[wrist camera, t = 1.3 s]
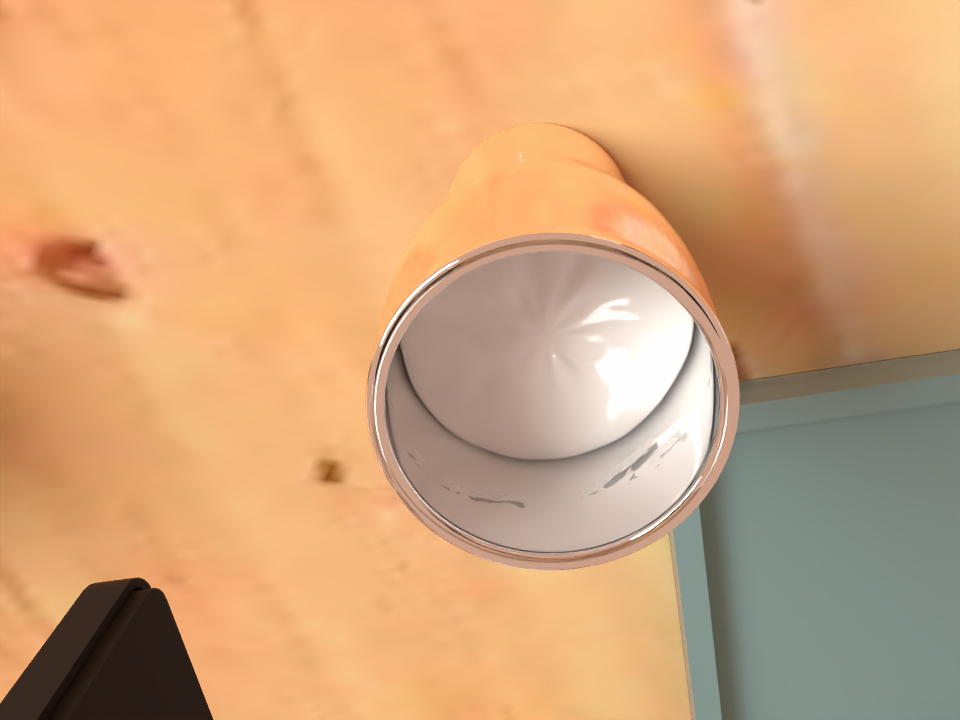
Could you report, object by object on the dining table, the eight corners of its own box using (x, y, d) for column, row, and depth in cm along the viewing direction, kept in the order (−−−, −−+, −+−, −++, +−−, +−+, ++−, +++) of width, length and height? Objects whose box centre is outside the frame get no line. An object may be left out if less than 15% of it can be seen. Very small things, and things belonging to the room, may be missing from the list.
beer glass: (686, 183, 29) (839, 359, 15) (567, 352, 31) (602, 638, 17) (504, 64, 28) (485, 135, 14) (394, 249, 30) (284, 467, 16)
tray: (1144, 727, 36) (1174, 762, 35) (698, 771, 38) (706, 806, 37) (1194, 314, 30) (1234, 334, 28) (652, 394, 32) (658, 416, 30)
